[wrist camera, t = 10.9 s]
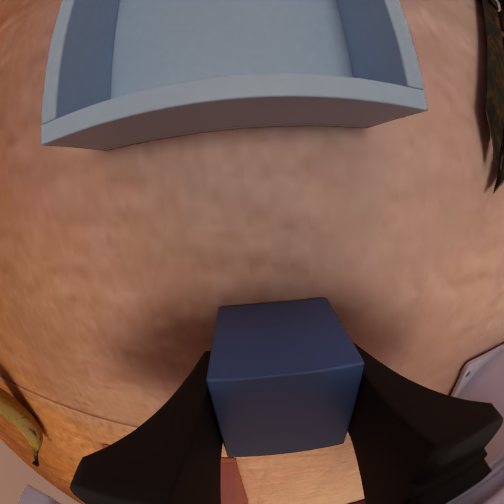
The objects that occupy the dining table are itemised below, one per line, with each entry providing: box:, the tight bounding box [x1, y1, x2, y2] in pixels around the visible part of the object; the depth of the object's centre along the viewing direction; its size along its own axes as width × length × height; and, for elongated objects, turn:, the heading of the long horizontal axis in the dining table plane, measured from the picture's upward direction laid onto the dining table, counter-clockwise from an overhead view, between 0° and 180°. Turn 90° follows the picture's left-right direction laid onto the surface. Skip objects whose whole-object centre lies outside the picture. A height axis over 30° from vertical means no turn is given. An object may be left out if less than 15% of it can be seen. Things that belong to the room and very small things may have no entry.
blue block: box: [206, 297, 364, 457], centre depth 9 cm, size 4×4×4 cm
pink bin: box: [102, 444, 248, 504], centre depth 14 cm, size 10×10×4 cm
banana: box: [0, 388, 43, 467], centre depth 11 cm, size 10×2×4 cm, turn 2°
